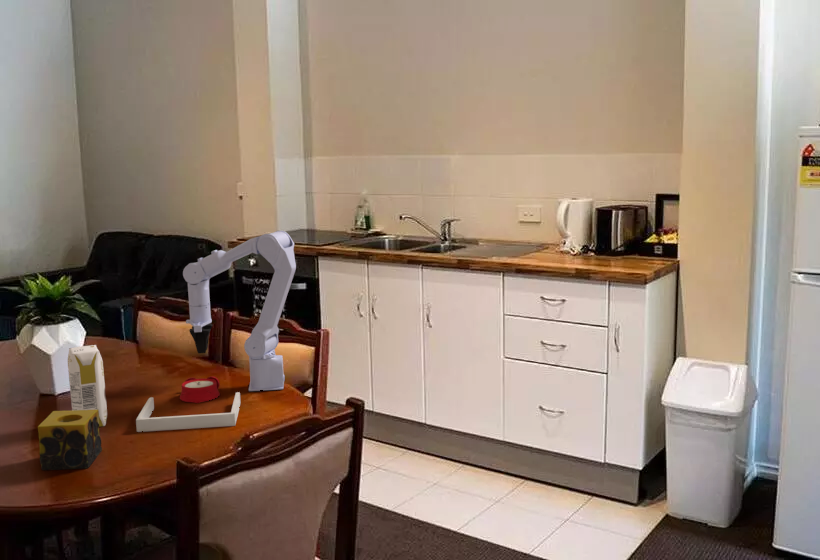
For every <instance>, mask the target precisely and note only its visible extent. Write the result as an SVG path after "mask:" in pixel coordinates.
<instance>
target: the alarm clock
mask: <svg viewBox="0 0 820 560" xmlns="http://www.w3.org/2000/svg"><path fill="white" fill-rule="evenodd" d="M220 384H221V383H220V380H219V379H218V378H217V377H216V376H208V377H207V378H205V377H204V378H195V377H189V378H187V379H186V380H185V381H184V382H183V383H181V393H180V396H179V400H181V401H182V402H185V403H195V404H200V403H203V402H209V400H210V401H213V400H216V399H217V398H219V397H220V395H221V393H220V391H219V390H218V389H220V386H221V385H220ZM218 396H219V397H218ZM215 398H216V399H215ZM212 399H213V400H212Z"/></svg>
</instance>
